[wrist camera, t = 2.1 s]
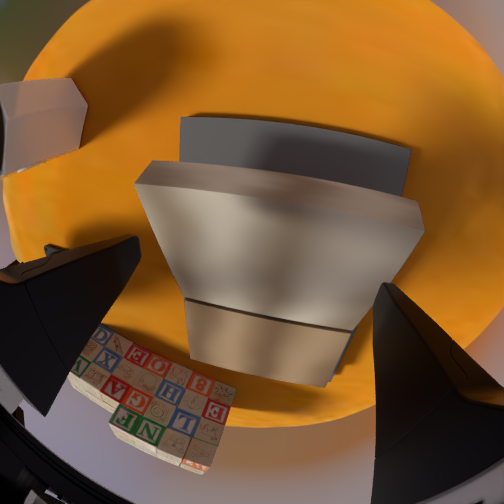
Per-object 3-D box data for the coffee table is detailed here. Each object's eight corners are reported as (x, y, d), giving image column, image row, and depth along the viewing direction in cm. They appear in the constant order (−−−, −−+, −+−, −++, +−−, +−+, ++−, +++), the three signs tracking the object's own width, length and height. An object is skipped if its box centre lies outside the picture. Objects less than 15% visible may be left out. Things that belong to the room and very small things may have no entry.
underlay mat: (193, 346, 30) (189, 352, 29) (186, 116, 18) (180, 117, 17) (330, 375, 27) (330, 382, 26) (406, 148, 16) (411, 149, 15)
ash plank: (191, 276, 23) (183, 296, 22) (152, 160, 14) (134, 183, 12) (353, 308, 21) (352, 330, 20) (417, 201, 11) (425, 231, 10)
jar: (46, 163, 23) (-38, 202, 13) (38, 99, 19) (-48, 120, 9) (94, 145, 21) (-14, 184, 10) (86, 68, 17) (-22, 75, 7)
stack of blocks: (103, 345, 36) (61, 400, 26) (99, 321, 33) (48, 380, 23) (227, 406, 35) (201, 476, 25) (238, 388, 32) (210, 470, 22)
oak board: (197, 345, 28) (190, 358, 26) (193, 287, 24) (184, 300, 22) (325, 372, 26) (324, 387, 24) (349, 317, 22) (350, 333, 20)
